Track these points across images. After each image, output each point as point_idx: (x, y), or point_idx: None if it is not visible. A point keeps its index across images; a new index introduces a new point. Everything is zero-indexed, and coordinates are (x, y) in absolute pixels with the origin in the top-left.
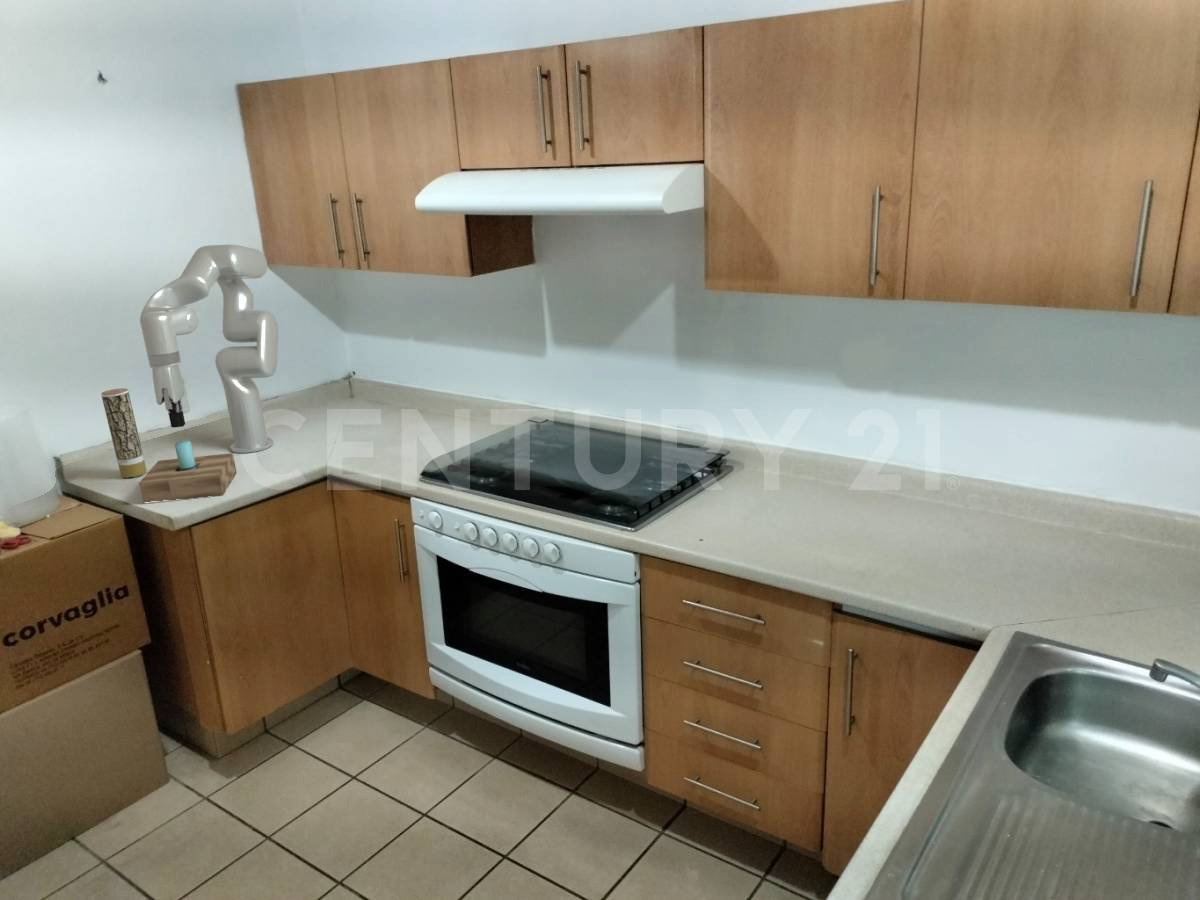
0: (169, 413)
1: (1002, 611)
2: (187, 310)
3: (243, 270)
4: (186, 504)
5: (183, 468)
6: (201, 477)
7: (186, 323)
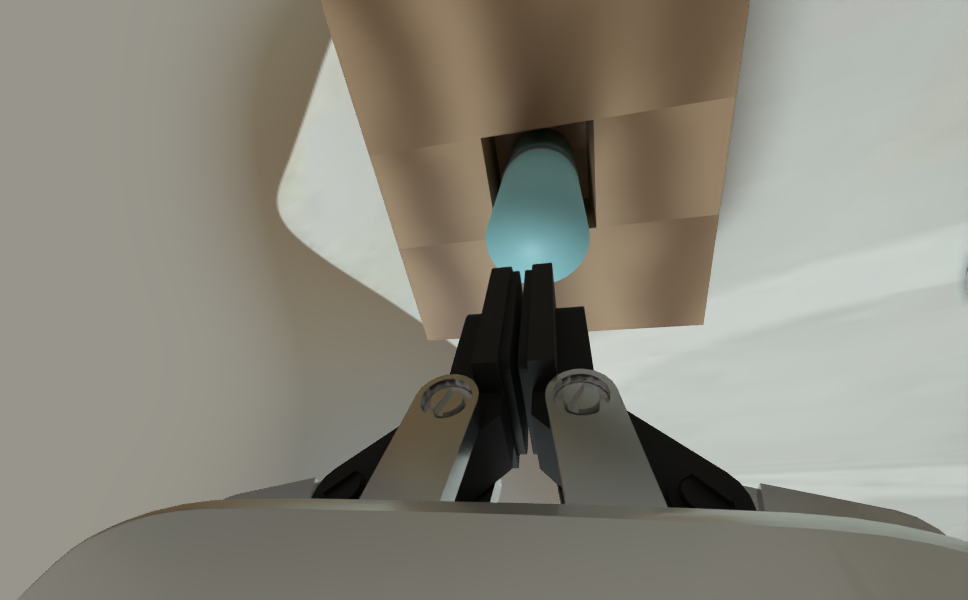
0: (436, 388)
1: None
2: None
3: None
4: (371, 204)
5: (501, 182)
6: (411, 284)
7: None
